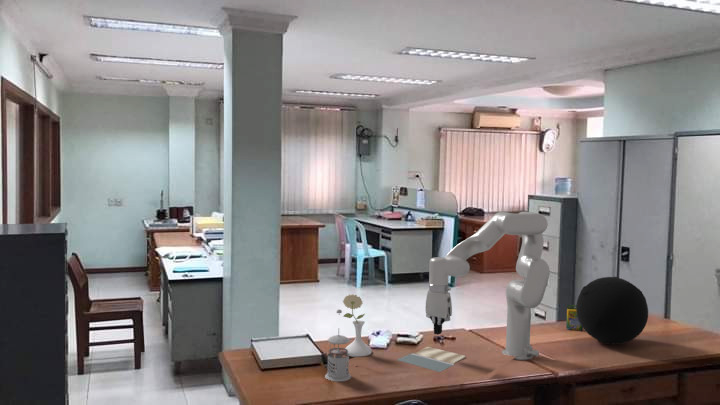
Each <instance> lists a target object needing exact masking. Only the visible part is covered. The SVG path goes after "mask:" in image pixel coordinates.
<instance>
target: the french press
mask: <svg viewBox="0 0 720 405" xmlns="http://www.w3.org/2000/svg"><path fill="white" fill-rule="evenodd" d="M342 312H343V311H342V309H337V310H336V314H342ZM337 330H338V334H336V335H332V336H330V337H329V338H327V342H329V347H331V346H332V345H333V348H329V349H328V354H327V372H326V374H325V375H324V379H326V380H327V379H328V381H330V380H331V382H346V381H348V380H350V379H351V378H352V375H351V374H350V368H349V367H350V356H349V354H348V353H347V352H348V350H347V349H345V348H346V347H345V348H344V347H340V345H345V344H349V342H350V340H351V339H350V338H348V337H347V336H345V335H341V334H340V329H337ZM336 345H337V347H335V346H336Z"/></svg>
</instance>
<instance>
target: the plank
mask: <svg viewBox="0 0 720 405" xmlns="http://www.w3.org/2000/svg"><path fill="white" fill-rule="evenodd" d="M413 354H417V355H420V356H424V357H428V358H432V359H436V360H440V361H443V362H447V363H451V364H455V363H457V362H460V361H462V360H463V359H465V358H466V355H463V354H460V353H456V352H451V351H448V350H443V349H439V348H435V347H431V346H426V347H424V348H422V349H420V350H418V351H416V352H414V353H413Z"/></svg>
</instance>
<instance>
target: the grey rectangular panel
mask: <svg viewBox="0 0 720 405" xmlns="http://www.w3.org/2000/svg"><path fill="white" fill-rule="evenodd" d="M396 361H398V362H402V363H405V364H409V365H414V366H415V367H416V366H417V367H420V368H424V369H427V370H430V371H431V370H432V371H434V372H438V373H441V372H442V371H445V370H446V369H449V368H451V367H453V366H455V363H453V364H451V363H448V362H444V361H440V360H436V359H432V358H429V357H425V356H421V355H417V354H414V353H409V354H408V355H404V356H401V357H399V358H397V359H396Z"/></svg>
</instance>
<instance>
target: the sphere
mask: <svg viewBox="0 0 720 405" xmlns="http://www.w3.org/2000/svg"><path fill="white" fill-rule="evenodd" d="M575 308H576V312H577V317H578V320H579V322H580V324H581V326H582V327H583V330H584V331H585V332H586V334H588V335H589V336H590V337H591V338H593V339H595V340H596V341H598V342H600V343H602V344H604V345H605V344H606V345H620V344H621V345H622V344H625V343H628V342H631V341H632V340H634V339H636V338H637V337H639V335H641V334H642V332H643V331H644V329H645V327H646V326H647V323H648V318H649V308H648V303H647V299H646V296H644V293H643V291H642V290H640V288H638V287H637V286H636V285H634V284H633V283H631V282H630V281H628V280H625V279H624V278H620V277H618V276H605V277H600V278H599V277H598V278H596V279H594V280H592V281H590V282H589V283H587V284H586V285H584V286H583V287H582V288H581V290H580V292H579V295H578V297H577V301H576V306H575Z"/></svg>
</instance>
